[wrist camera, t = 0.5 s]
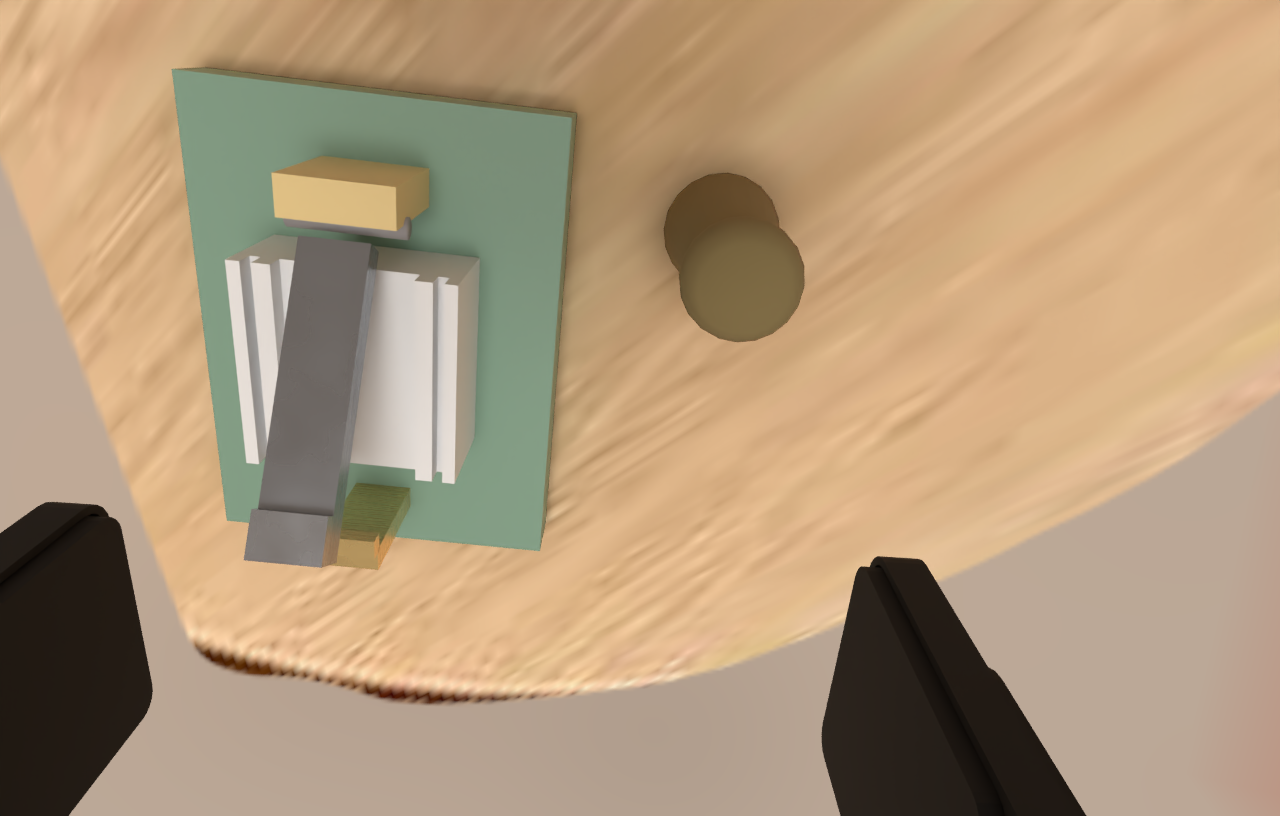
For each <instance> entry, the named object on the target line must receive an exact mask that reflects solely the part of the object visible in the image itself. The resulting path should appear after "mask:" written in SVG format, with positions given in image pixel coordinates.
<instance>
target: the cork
mask: <svg viewBox="0 0 1280 816" xmlns="http://www.w3.org/2000/svg"><path fill="white" fill-rule="evenodd" d="M664 236H665V247H666V249H667V252H668V254H669V256H670V259H671V261H672V263H673V265H674V266H675V267H676V268H677V270H678V271H679V280H680V293H681V298H682V301H683V303H684V305H685V308H686V310H687V312H688V314H689V315H690V316H691V318H692V319H693V320H694V321H695V322H696V323H697V324H698V325H699V326H700V328H702V329H703V330H705V331H707V332H709V333H710V334H712V335H714V336H716V337H717V338H719V339H724V340H729V341H733V342H745V341H755V340H758V339H760V338H763V337H765V336H768V335H770V334H773V333H774V332H775V331H776V330H778V329H779V328H780V327H782V326H783V325H784V324H785V323H787V322H788V320H789V319H790V317H791V316H792V315H793V313H794V312H795V310H796V309H797V307H798V305H799V302H800V299H801V296H802V293H803V289H804V264H803V261H802V259H801V256H800V253H799V250H798V248H797V246H796V245H795V244H794V243H793V242H792V240H791V239H790V238H789V237H788V235H787V234H786V233H785V232H784V231H783V230H782V229H780V228H779V220H778V216H777V213H776V210H775V207H774V205H773V202H772V200H771V199H770V198H769V196H768V195H767V194H766V193H765V191H764V190H763V189H762V188H761V187H760V186H759V185H757V184H756V183H754V182H752V181H751V180H749V179H748V178H746V177H743V176H738V175H734V174H730V173H722V174H712V175H707V176H705V177H703V178H701V179H698V180H696V181H694V182H692V183H691V184H689V185H688V186H687V187H686V188H685V189H684V190H683V191H682V192H680V193H679V194H678V195H677V197H676V198H675V200H674V202H673V204H672V205H671V207H670V209H669V210H668V213H667V218H666V222H665V226H664Z"/></svg>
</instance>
